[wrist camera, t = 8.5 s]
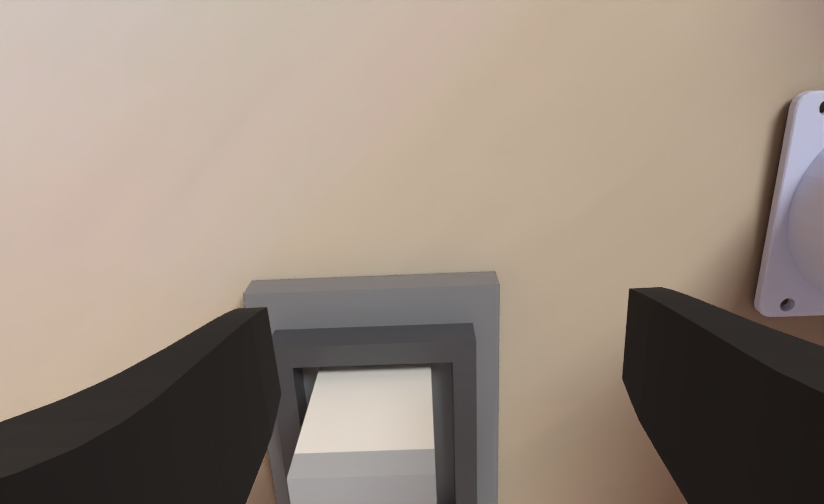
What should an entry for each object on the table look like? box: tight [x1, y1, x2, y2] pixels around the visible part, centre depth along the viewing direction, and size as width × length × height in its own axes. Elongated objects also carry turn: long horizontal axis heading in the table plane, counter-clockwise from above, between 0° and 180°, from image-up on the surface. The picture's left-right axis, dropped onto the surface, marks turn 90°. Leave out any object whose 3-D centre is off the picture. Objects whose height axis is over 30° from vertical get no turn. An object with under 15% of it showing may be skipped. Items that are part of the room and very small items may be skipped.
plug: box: [287, 363, 437, 504], centre depth 19 cm, size 4×6×6 cm, turn 3°
